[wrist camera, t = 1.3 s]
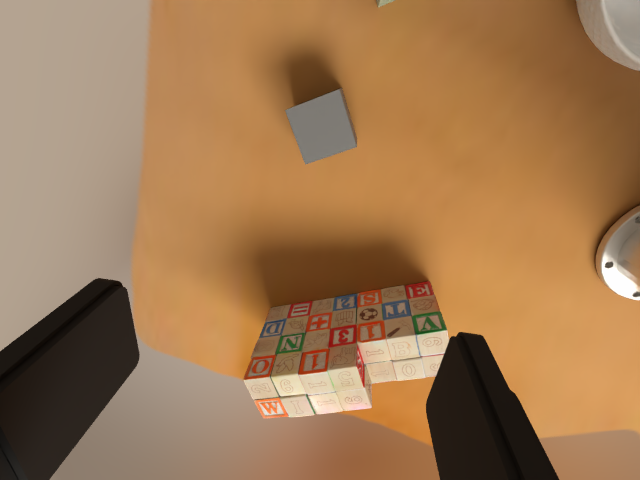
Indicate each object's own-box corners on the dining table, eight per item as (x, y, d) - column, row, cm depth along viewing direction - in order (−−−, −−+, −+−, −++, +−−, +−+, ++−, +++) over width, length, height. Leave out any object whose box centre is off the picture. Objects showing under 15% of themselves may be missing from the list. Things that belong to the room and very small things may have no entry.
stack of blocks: (430, 278, 40) (457, 353, 29) (437, 318, 43) (464, 400, 32) (269, 307, 45) (240, 381, 34) (284, 341, 47) (262, 421, 36)
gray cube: (341, 87, 32) (339, 89, 28) (356, 137, 34) (356, 146, 30) (294, 105, 33) (285, 110, 29) (311, 153, 35) (305, 164, 31)
